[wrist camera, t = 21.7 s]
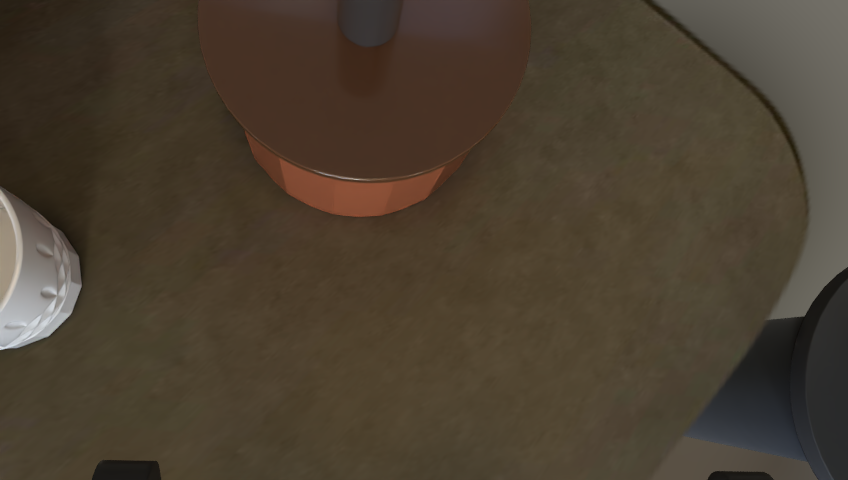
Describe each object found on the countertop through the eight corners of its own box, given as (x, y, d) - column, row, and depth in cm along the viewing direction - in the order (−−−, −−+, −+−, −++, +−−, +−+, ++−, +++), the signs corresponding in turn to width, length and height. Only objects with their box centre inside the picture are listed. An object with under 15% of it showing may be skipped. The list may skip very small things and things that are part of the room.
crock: (508, 49, 46) (561, -42, 35) (421, 254, 43) (449, 221, 33) (300, -45, 45) (291, -166, 35) (200, 157, 43) (158, 92, 33)
